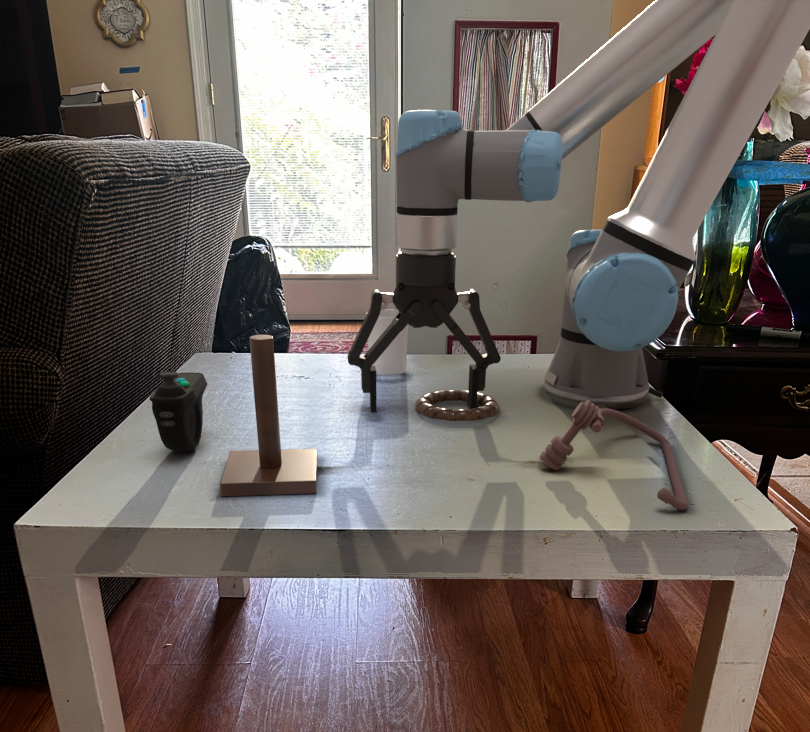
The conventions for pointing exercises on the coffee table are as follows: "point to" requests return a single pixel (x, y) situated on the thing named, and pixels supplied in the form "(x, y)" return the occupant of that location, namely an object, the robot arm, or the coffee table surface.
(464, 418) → the ring
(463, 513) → the coffee table surface
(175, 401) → the controller
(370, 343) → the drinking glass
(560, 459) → the toilet paper hanger
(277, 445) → the stand
